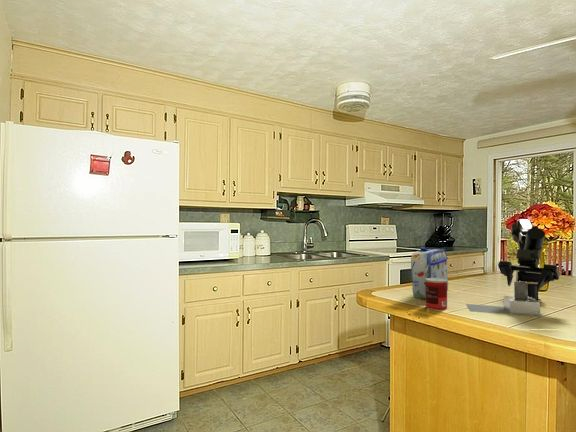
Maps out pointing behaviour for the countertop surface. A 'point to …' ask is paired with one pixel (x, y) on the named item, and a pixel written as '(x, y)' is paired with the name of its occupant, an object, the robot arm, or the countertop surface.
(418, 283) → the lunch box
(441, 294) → the canned food
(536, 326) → the countertop surface
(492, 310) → the slate mat
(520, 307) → the grey cylinder on plate
